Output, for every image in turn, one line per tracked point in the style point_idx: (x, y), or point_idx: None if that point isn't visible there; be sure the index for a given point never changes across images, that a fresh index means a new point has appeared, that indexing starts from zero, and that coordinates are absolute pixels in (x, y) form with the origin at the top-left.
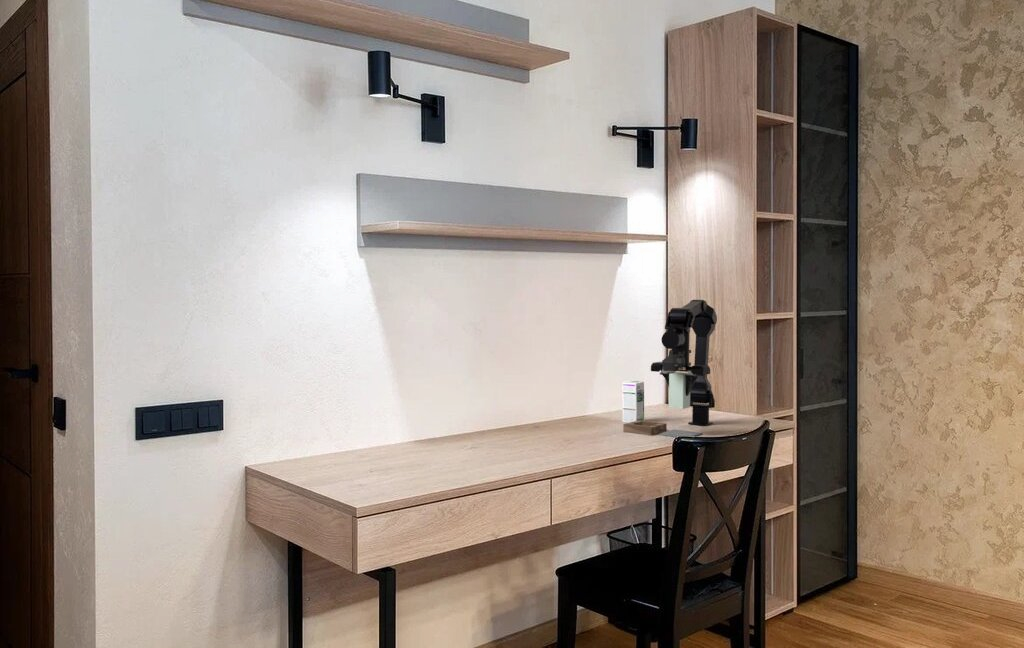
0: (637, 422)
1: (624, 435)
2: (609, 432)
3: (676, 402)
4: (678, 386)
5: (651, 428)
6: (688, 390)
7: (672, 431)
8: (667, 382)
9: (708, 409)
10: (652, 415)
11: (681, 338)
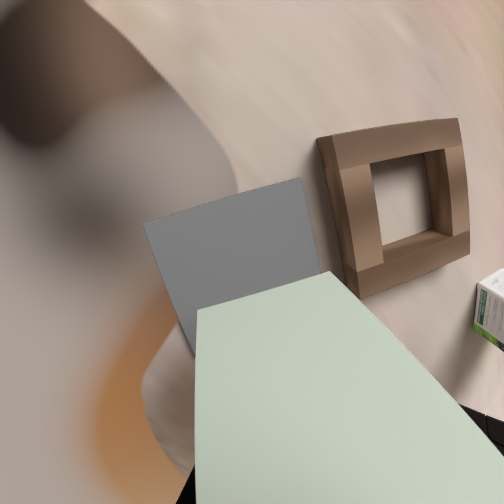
0: (452, 204)
1: (381, 52)
2: (448, 71)
3: (267, 317)
4: (287, 469)
5: (329, 137)
6: (190, 485)
7: (299, 275)
8: (501, 425)
9: None
10: (478, 398)
11: None
